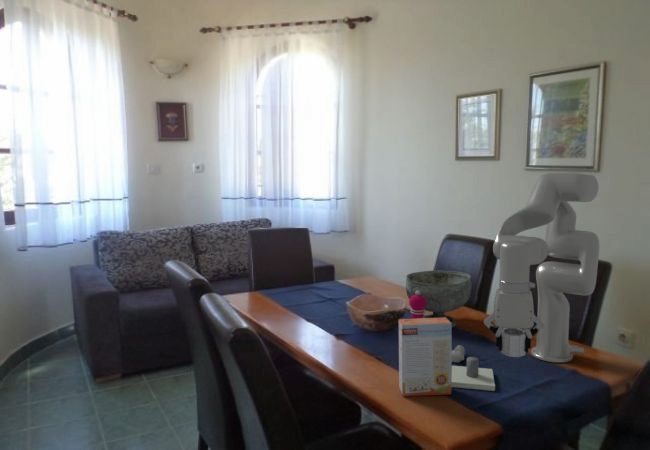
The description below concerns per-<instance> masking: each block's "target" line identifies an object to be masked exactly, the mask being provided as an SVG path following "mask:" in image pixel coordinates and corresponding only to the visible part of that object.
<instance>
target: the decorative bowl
mask: <svg viewBox="0 0 650 450" xmlns="http://www.w3.org/2000/svg"><path fill="white" fill-rule="evenodd" d="M405 277H406V281H405V285H406V286H405V291H406V296H407V297H408V300H410V298H411V297H412V296H413V295H416V294H415V292H416V291H420V295H422V296H424V297H425V299H426V306H425V307H424V309H425V312H430V313H432V314H427V315H425V316H423V318H445V317H446V318H447V319H448V320H449V321H450V322H451V323H452V328H454V327H456V325H457V323H456V320H455V319H454V318H453V316H450V315H446V314H445V313H447V312H448V313H450V312H452V311H456V310H458V309H460V308H462V307H464V305H465V304H466V303H468V301H469V300H470V298H471V293H472V279H471V278H472V276H471V275H470V274H469V273H465V272H461V271H455V270H454V271H453V270H439V269H438V270H423V271H416V272H411V273H408V274H406V276H405Z"/></svg>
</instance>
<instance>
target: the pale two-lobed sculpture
mask: <svg viewBox="0 0 650 450" xmlns="http://www.w3.org/2000/svg"><path fill="white" fill-rule="evenodd" d="M465 354H466V349H465V347H464V346H463V345H462V344H458V345H455V347H454V349H452V363H461V362H462V361H464V360H465Z"/></svg>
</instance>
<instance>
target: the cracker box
mask: <svg viewBox="0 0 650 450" xmlns="http://www.w3.org/2000/svg"><path fill="white" fill-rule="evenodd" d="M452 328H453V327H452V323H451V322H450V321H449V320H448V319H447V318H446V317H445V318H418V319H412V318H399V319H398V384H399V386H398V387H399V390H400V394H401V395H402V397H419V396H440V395H441V396H442V395H443V396H445V395H452V387H451V378H452V366H453V365H452V363H453V362H452V350H453V349H452V347H453V346H452V343H453V341H452V340H453V339H452V336H453V335H452V334H453V333H452V330H453V329H452Z"/></svg>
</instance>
